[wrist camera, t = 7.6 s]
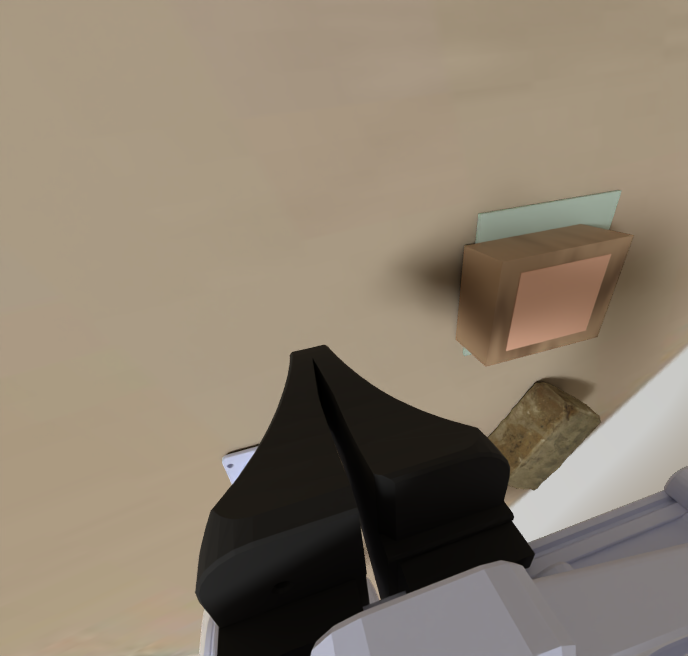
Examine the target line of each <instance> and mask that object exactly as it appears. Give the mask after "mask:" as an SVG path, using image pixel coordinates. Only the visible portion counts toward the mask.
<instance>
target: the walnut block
mask: <svg viewBox="0 0 688 656" xmlns="http://www.w3.org/2000/svg"><path fill="white" fill-rule="evenodd" d="M633 237H634V235H630V234H626V233H621V232H616V231H611V230H607V229H602V228H597V227H593V226H588V225H583V224H577V225H572V226H567V227H561V228H556V229H551V230H545V231H540V232H535V233H529V234H524V235H519V236H513V237H508V238H503V239H497V240H492V241H487V242H481V243H476V244H471V245H465V246H464V256H463V267H462V277H461V288H460V299H459V309H458V320H457V330H456V340H457V341H458V342H459V343H460V344H461V345H462V346H463V347H465V348H466V349H467V350H468V351H469V352H470V353H471V354H472V355H473V356H475V357H476V358H477V359H478V360H479V361H480V362H481V363H482V364H484V365H485V366H490V365H494V364H498V363H501V362H505V361H509V360H513V359H516V358H520V357H524V356H528V355H531V354H535V353H539V352H543V351H546V350H550V349H554V348H558V347H561V346H565V345H569V344H573V343H576V342H580V341H584V340H588V339H591V338H595V337H598V334H599V331H600V328H601V325H602V323H603V320H604V317H605V314H606V312H607V309H608V306H609V303H610V300H611V298H612V295H613V292H614V289H615V287H616V284H617V281H618V278H619V275H620V273H621V270H622V267H623V264H624V262H625V259H626V256H627V253H628V251H629V248H630V245H631V242H632V239H633Z"/></svg>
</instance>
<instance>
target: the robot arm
mask: <svg viewBox="0 0 688 656" xmlns="http://www.w3.org/2000/svg"><path fill="white" fill-rule="evenodd" d="M333 441H334V442H333ZM335 446H336V447H335ZM336 449H337V450H336ZM337 452H338V453H337ZM338 454H339V455H338ZM339 457H340V458H339ZM340 459H341V460H340ZM341 462H342V463H341ZM222 463H223V466H224V468H225V470H226V472H227V474H228V477H229V479H230V481H231V483H232V485H231V487H230V488H229V489H228V490H227V492H226V493H225V494H224V495H223V497H222V498H221V499H220V500H219V501H218V503H217V504H216V505H215V506H214V508H213V509H212V510H211V512H210V515H209V518H208V522H207V525H206V528H205V532H204V536H203V541H202V545H201V549H200V555H199V563H198V572H197V582H196V591H195V593H196V596H197V598H198V600H199V602H200V604H201V605H202V606H203V607H204V609H205V610H206V611H207V613H208V614H209V615H210V616H211V617H210V618H209V621H208V626H207V632H206V639H205V647H204V656H688V466H686V467H684V468H682V469H680V470H678V471H677V472H676V473H674V474H673V475H672V476H671V477H670V478H669V480H668V481H667V483H666V485H665V487H664V490H663V491H660V492H658V493H655V494H653V495H650V496H648V497H645V498H642V499H640V500H637V501H635V502H632V503H629V504H627V505H624V506H622V507H620V508H617V509H614V510H611V511H609V512H606V513H604V514H601V515H598V516H596V517H593V518H591V519H588V520H586V521H583V522H580V523H578V524H575V525H573V526H570V527H568V528H565V529H562V530H560V531H557V532H555V533H552V534H549V535H547V536H544V537H542V538H539V539H537V540H534V541H531V542H529V543H527V541H526V540H525V539H524V537H523V536H522V535H521V533H520V532H519V530H518V529H517V528H516V526H515V525H514V523H513V522H512V520H513V519H514V516H513V513H512V511H511V510H510V509H509V507H508V506H507V505H506V503H505V502H504V497H505V494H506V490H507V486H508V482H509V478H510V465H509V463H508V460H507V459H506V458H505V457H504V455H503V454H502V453H501V452H500V451H499V449H498V448H497V447H496V446H495V445H494V444H493V443H492V442H491V441H490V440H489V439H488V438H487V437H486V436H485V435H484V434H483V433H482V432H481V431H480V430H479V429H478V428H476V427H472V426H469V425H465V424H461V423H458V422H454V421H451V420H447V419H444V418H441V417H438V416H435V415H433V414H430V413H427V412H424V411H422V410H419V409H417V408H415V407H412V406H410V405H408V404H406V403H404V402H402V401H399V400H397V399H395V398H393V397H392V396H390V395H388V394H386V393H385V392H383V391H381V390H380V389H378V388H376V387H375V386H373V385H372V384H371V383H369V382H368V381H366V380H365V379H363V378H362V377H361V376H359V375H358V374H357V373H356V372H354V371H353V370H352V369H351V368H350V367H348V366H347V365H346V364H345V363H344V362H343V361H342V360H340V359H339V358H338V357H337V356H336V355H335V354H334V353H333V352H332V351H331V350H330V349H329V347H328V346H326V345H321V346H317V347H312V348H308V349H303V350H299V351H295V352H292V353H291V354H290V365H289V371H288V376H287V380H286V384H285V387H284V391H283V394H282V397H281V399H280V402H279V405H278V408H277V410H276V413H275V415H274V417H273V419H272V421H271V424H270V426H269V428H268V430H267V431H266V433H265V435H264V437H263V439H262V441H261V443H260V444H259V446H257V447H253V448H249V449H246V450H242V451H239V452H235V453H231V454H228V455H225V456H224V457H223V459H222ZM342 464H343V465H342ZM343 467H344V468H343ZM344 470H345V471H344ZM360 525H361V526H360ZM361 529H362V532H363V536H364V539H365V543H366V547H367V550H368V554H369V558H370V561H371V565H372V569H373V572H374V576H375V580H376V583H377V587H378V591H379V594H380V598H381V600H379V598H378V596H377V593H376V591H375V588H374V586H373V584H372V583H371V581H370V580H369V579H368V578H367V577H366V574H367V571H366V564H365V556H364V549H363V541H362V534H361Z"/></svg>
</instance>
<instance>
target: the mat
mask: <svg viewBox="0 0 688 656" xmlns="http://www.w3.org/2000/svg"><path fill="white" fill-rule="evenodd" d="M620 194H621V190H615V191H610V192H604V193H598V194H592V195H586V196H580V197H574V198H568V199H562V200H556V201H550V202H544V203H538V204H533V205H527V206H521V207H515V208H509V209H503V210H497V211H491V212H485V213H479V214H478V223H477V232H476V241H475V244H476V243H481V242H487V241H492V240H497V239H503V238H508V237H513V236H519V235H524V234H529V233H535V232H540V231H545V230H551V229H556V228H561V227H567V226H572V225H577V224H583V225H588V226H593V227H597V228H602V229H607V230H609V229H610V225H611V222H612V219H613V216H614V213H615V210H616V207H617V203H618V200H619V197H620ZM463 355H464V356H467V355H471V353H470V352H469V351H468V350H467V349H466V348H465V347H464V349H463Z"/></svg>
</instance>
